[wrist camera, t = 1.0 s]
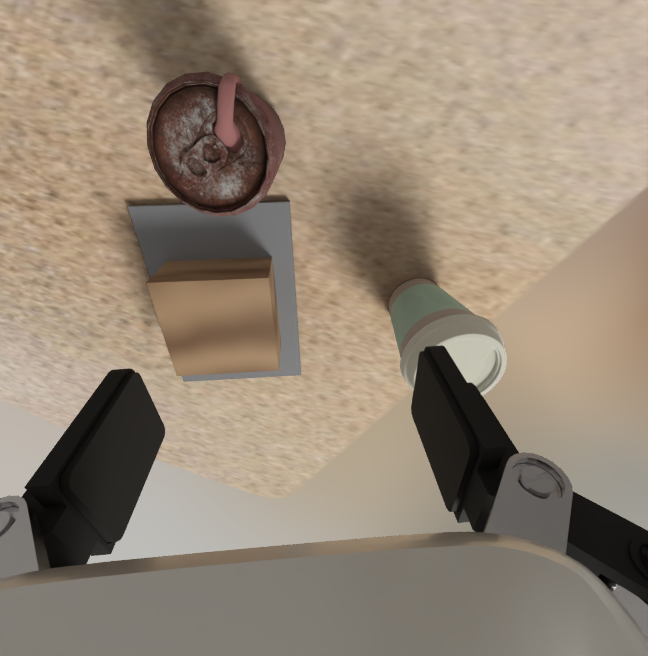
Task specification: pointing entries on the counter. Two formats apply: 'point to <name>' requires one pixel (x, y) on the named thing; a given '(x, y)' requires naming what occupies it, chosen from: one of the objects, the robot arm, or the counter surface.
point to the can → (214, 143)
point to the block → (218, 315)
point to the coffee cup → (445, 333)
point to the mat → (228, 257)
